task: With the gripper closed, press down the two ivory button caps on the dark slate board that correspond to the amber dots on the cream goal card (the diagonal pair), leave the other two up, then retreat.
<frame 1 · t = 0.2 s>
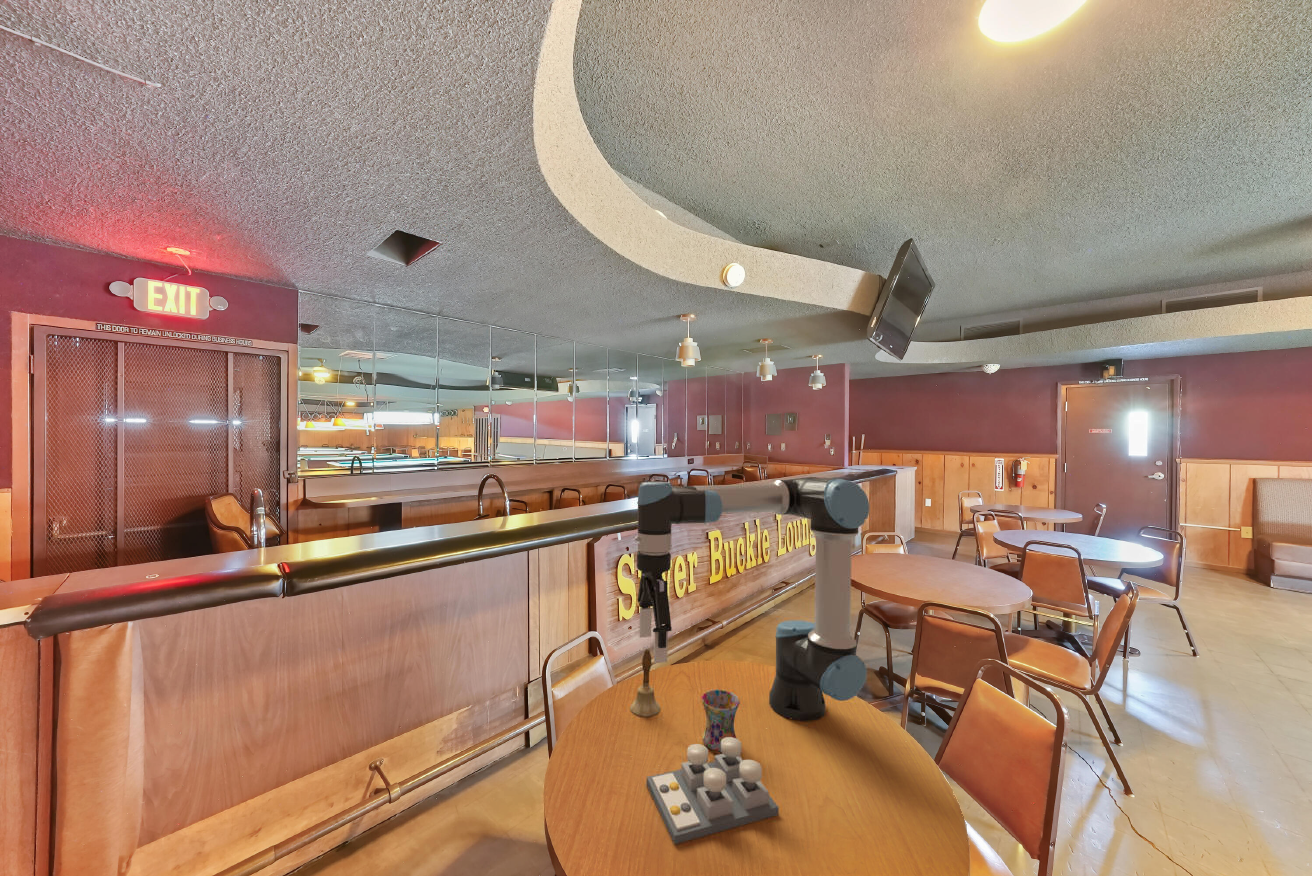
hand: (652, 648, 102), 27 cm above the table, fingers open, 13 cm apart
board: (709, 798, 95), on the table
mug: (719, 740, 115), on the table
button 2: (750, 776, 94), point 6 cm above the table, slide at 0.0 cm
button 3: (697, 759, 99), point 6 cm above the table, slide at 0.0 cm
button 1: (730, 752, 101), point 6 cm above the table, slide at 0.0 cm
hand bell: (645, 709, 128), on the table
button 4: (714, 785, 91), point 6 cm above the table, slide at 0.0 cm
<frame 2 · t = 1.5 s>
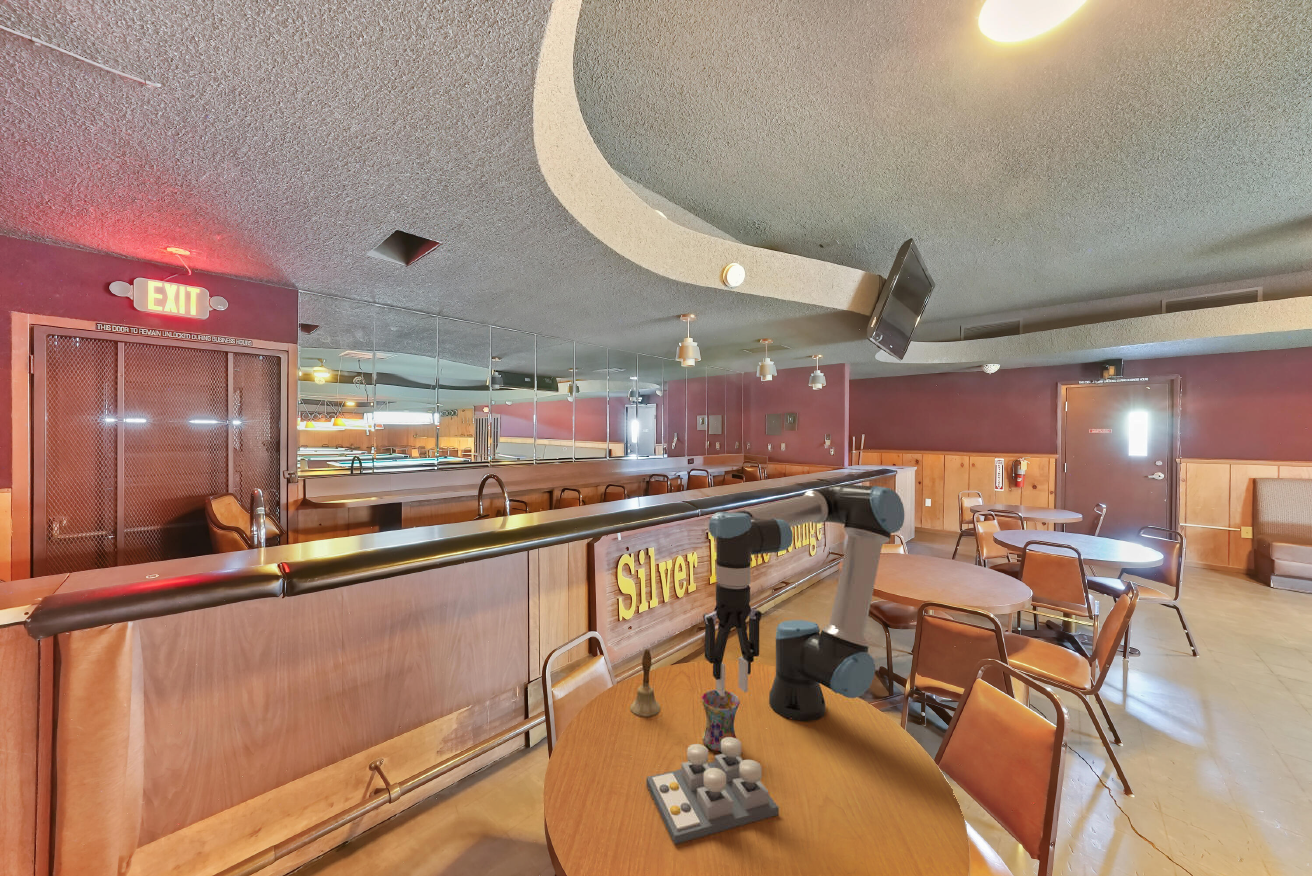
hand: (731, 690, 102), 19 cm above the table, fingers open, 5 cm apart
nothing on the table moved.
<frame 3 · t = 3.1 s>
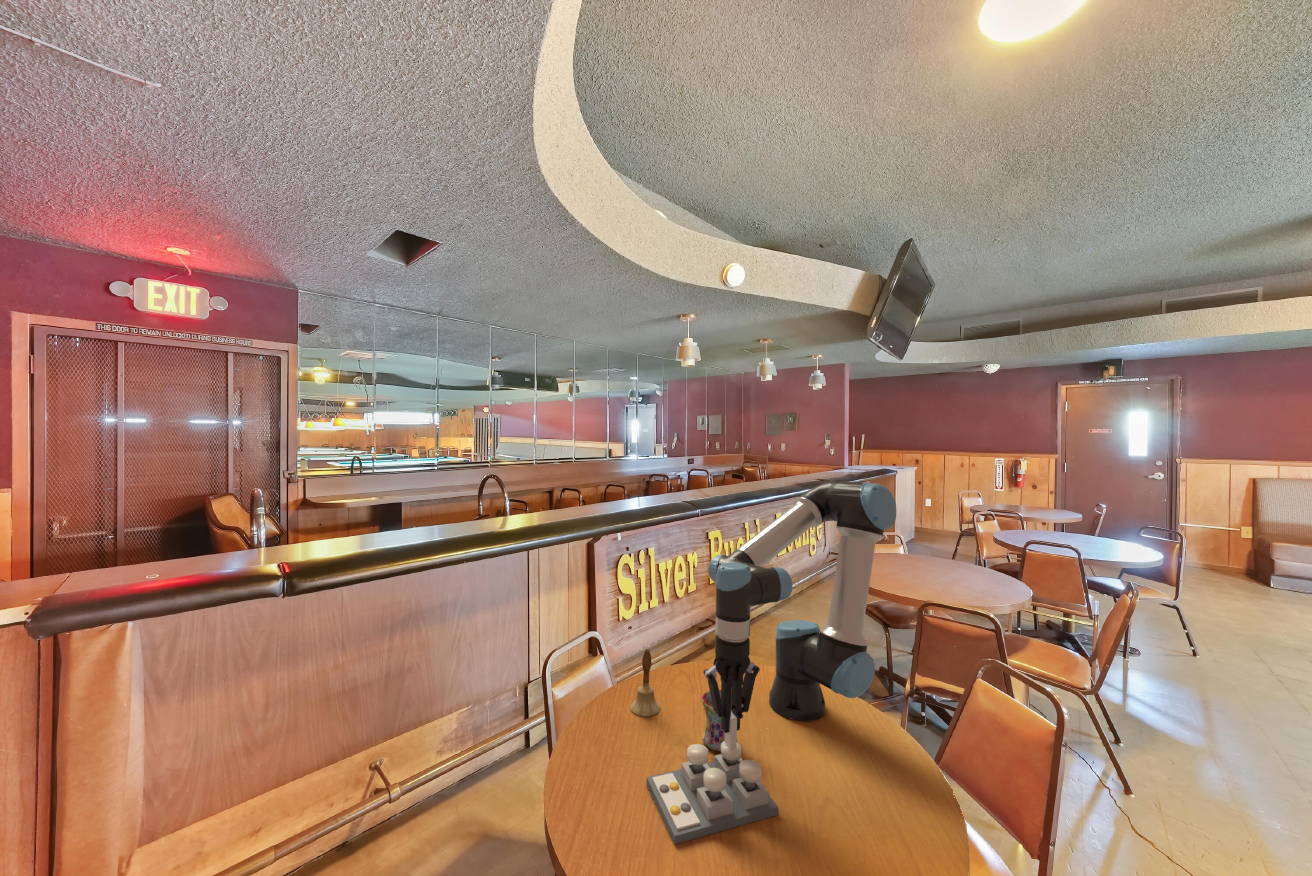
hand: (730, 745, 101), 7 cm above the table, fingers closed
button 1: (730, 755, 101), point 5 cm above the table, slide at 0.7 cm, touching gripper
everything else where it was.
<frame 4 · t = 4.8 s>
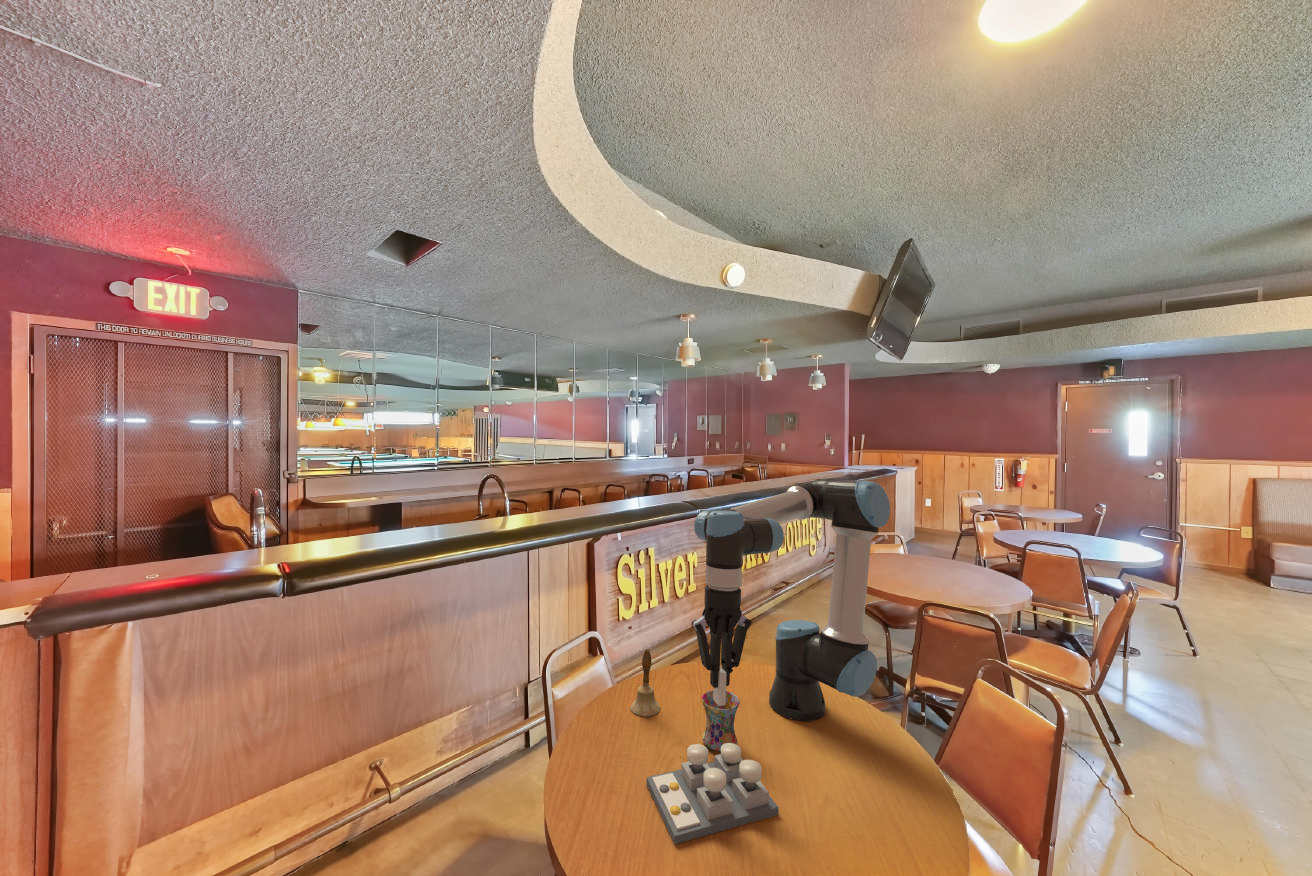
hand: (719, 702, 95), 20 cm above the table, fingers closed
button 1: (730, 758, 101), point 4 cm above the table, slide at 1.3 cm
everything else where it was.
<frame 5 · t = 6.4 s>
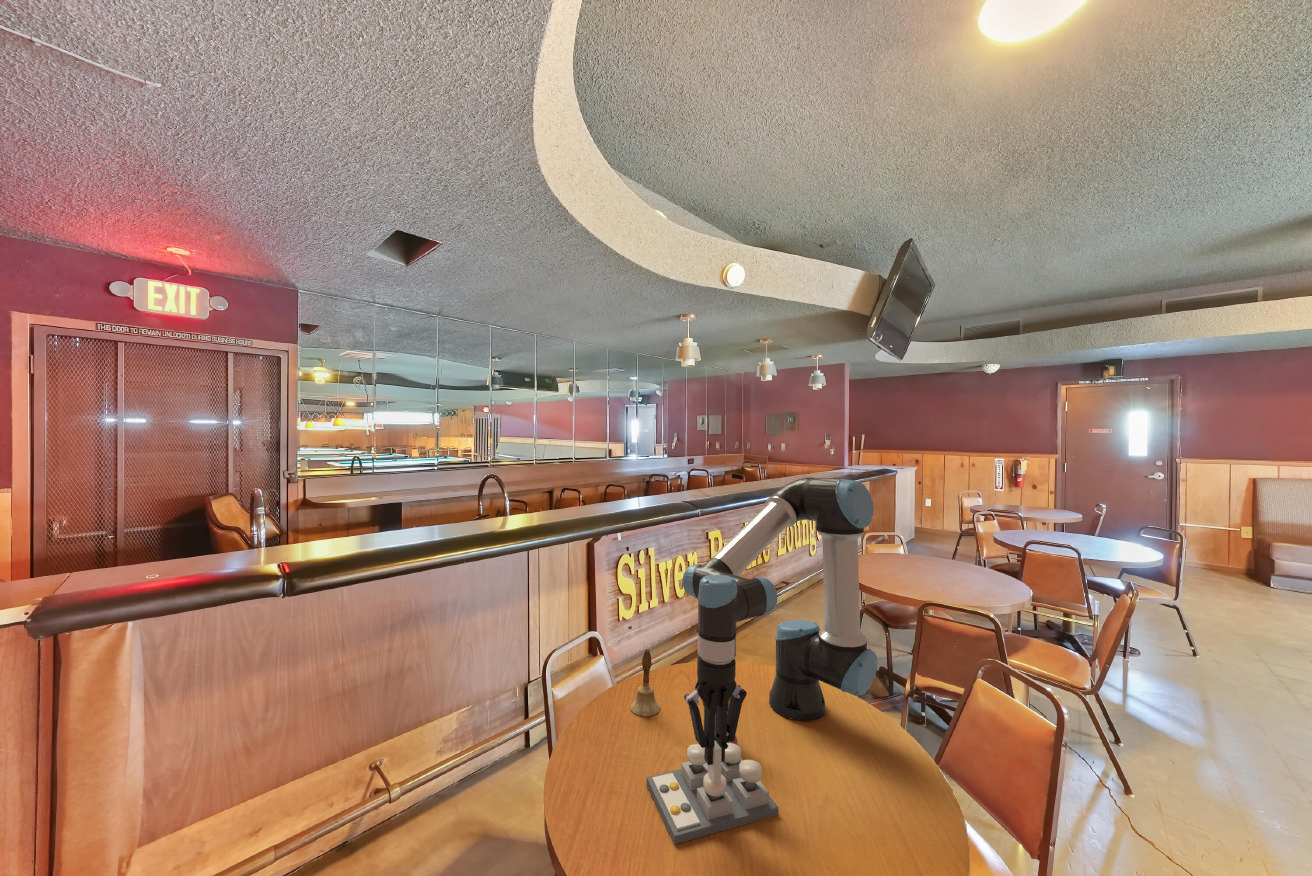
hand: (714, 778, 91), 7 cm above the table, fingers closed
button 4: (714, 789, 91), point 5 cm above the table, slide at 0.9 cm, touching gripper
everything else where it was.
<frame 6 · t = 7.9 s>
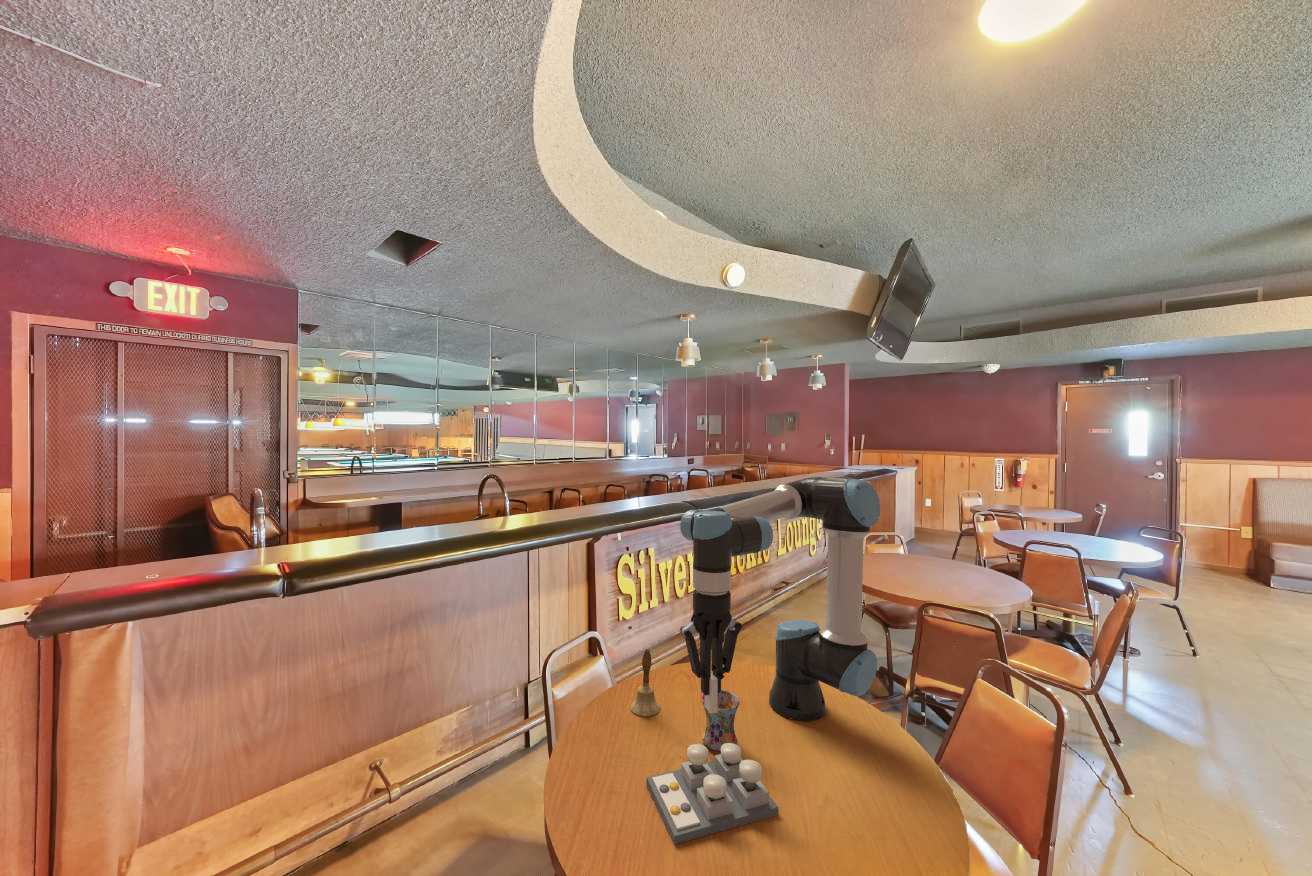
hand: (710, 709, 92), 20 cm above the table, fingers closed
button 4: (714, 792, 91), point 4 cm above the table, slide at 1.3 cm
everything else where it was.
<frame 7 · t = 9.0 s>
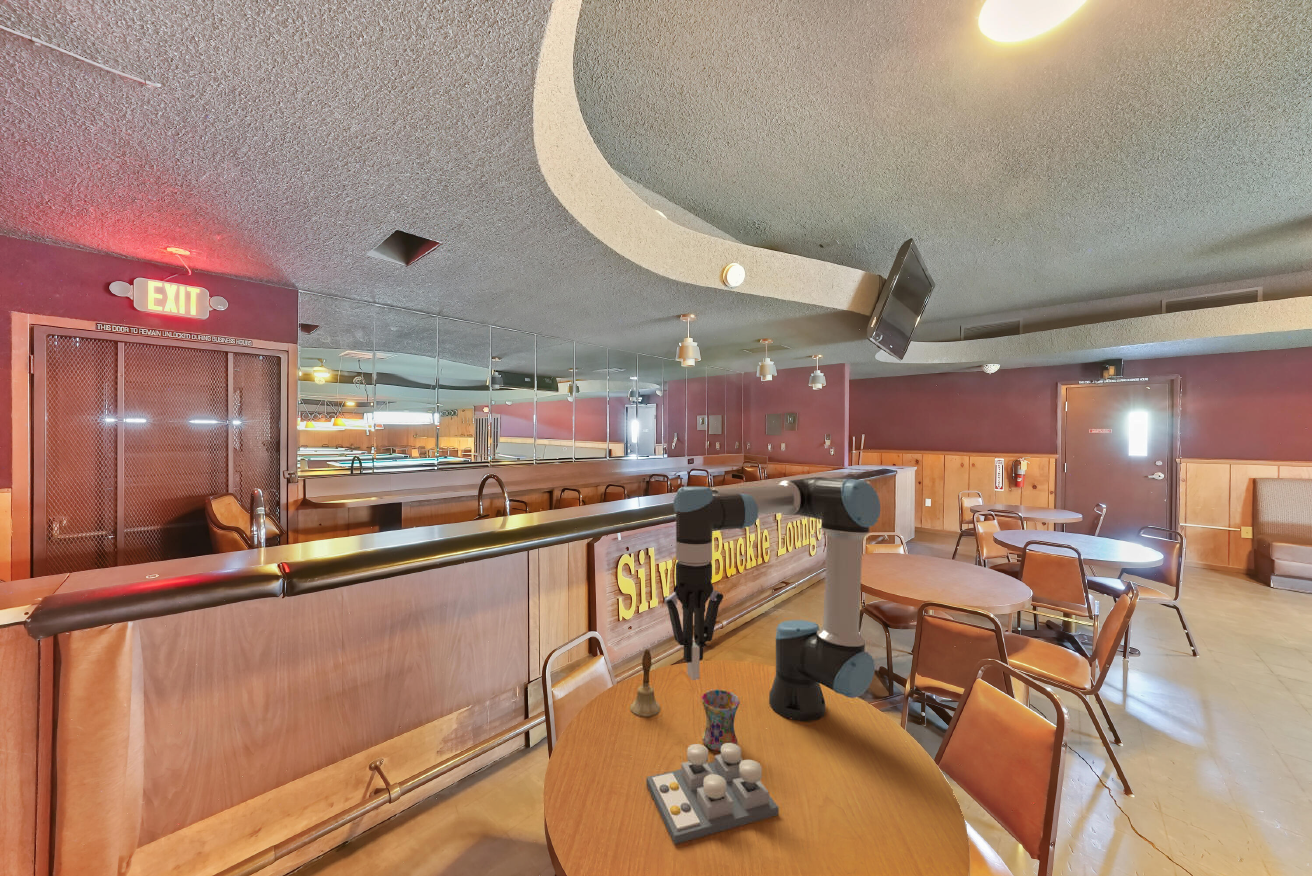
hand: (693, 676, 96), 25 cm above the table, fingers closed
nothing on the table moved.
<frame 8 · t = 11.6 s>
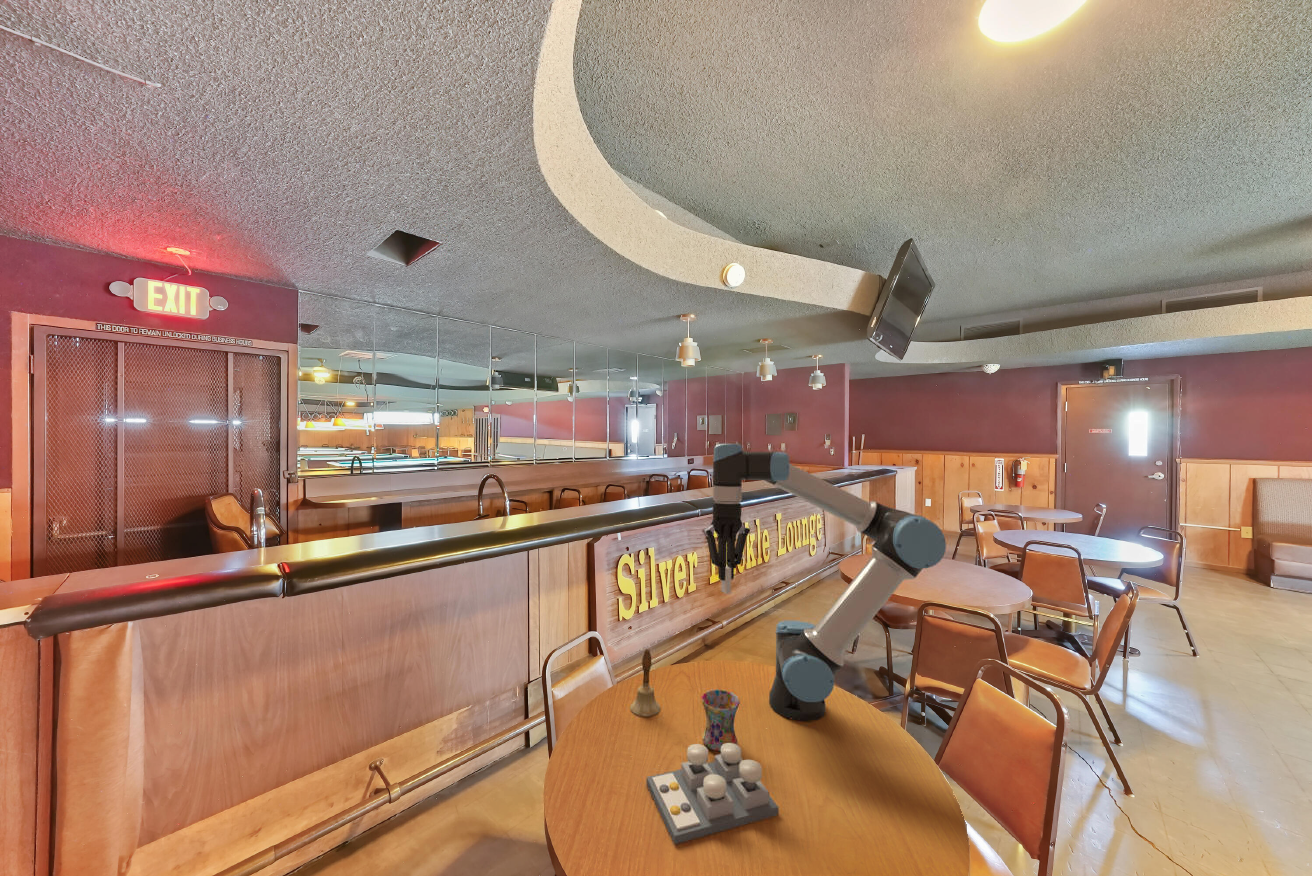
hand: (725, 592, 122), 34 cm above the table, fingers closed
nothing on the table moved.
at the end: button 1 slide at 1.3 cm; button 4 slide at 1.3 cm; button 2 slide at 0.0 cm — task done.
